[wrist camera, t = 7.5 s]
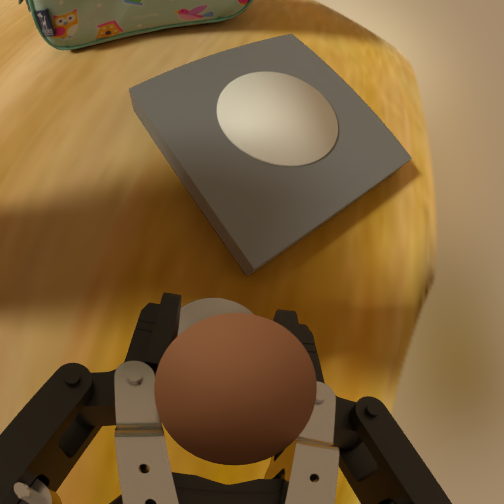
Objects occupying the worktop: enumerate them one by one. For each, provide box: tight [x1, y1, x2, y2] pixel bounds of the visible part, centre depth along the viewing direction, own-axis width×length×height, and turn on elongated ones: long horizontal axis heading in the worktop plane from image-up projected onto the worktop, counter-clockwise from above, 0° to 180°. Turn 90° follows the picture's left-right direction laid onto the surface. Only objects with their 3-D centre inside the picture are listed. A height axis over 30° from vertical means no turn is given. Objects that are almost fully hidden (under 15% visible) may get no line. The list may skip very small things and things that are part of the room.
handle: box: [154, 298, 317, 465], centre depth 12 cm, size 6×6×11 cm
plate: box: [129, 34, 412, 277], centre depth 24 cm, size 18×18×3 cm
